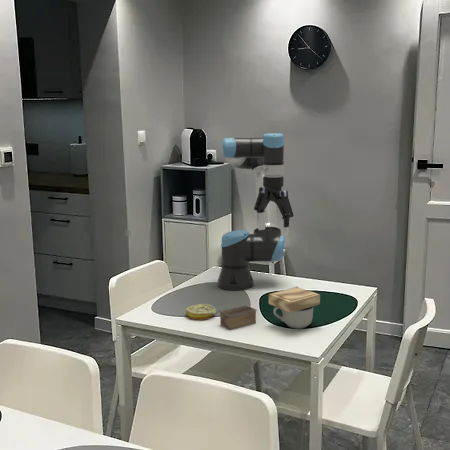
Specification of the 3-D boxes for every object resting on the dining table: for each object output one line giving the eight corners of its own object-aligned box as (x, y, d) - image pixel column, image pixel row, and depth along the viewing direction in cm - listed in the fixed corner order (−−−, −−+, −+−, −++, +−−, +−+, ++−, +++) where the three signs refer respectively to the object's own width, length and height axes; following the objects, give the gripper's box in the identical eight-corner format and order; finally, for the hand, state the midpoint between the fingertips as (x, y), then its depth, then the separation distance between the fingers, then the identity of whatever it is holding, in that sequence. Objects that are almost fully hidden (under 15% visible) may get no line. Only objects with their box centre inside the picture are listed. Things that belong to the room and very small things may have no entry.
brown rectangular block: (219, 324, 214) (219, 311, 213) (245, 318, 221) (245, 304, 220) (230, 330, 209) (230, 316, 208) (256, 323, 215) (256, 309, 214)
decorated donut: (221, 317, 222) (221, 307, 222) (196, 323, 216) (195, 313, 216) (205, 309, 231) (205, 300, 230) (181, 315, 225) (181, 305, 224)
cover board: (268, 303, 212) (268, 293, 211) (296, 296, 220) (297, 286, 219) (291, 312, 203) (291, 301, 202) (319, 304, 211) (320, 293, 210)
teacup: (312, 320, 218) (312, 299, 216) (314, 331, 207) (314, 309, 205) (273, 319, 219) (273, 298, 217) (273, 330, 208) (273, 308, 207)
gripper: (244, 173, 232) (245, 228, 236) (287, 180, 211) (286, 239, 216) (260, 172, 236) (260, 226, 240) (303, 178, 216) (302, 237, 220)
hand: (272, 232), depth 228 cm, fingers open, 13 cm apart
